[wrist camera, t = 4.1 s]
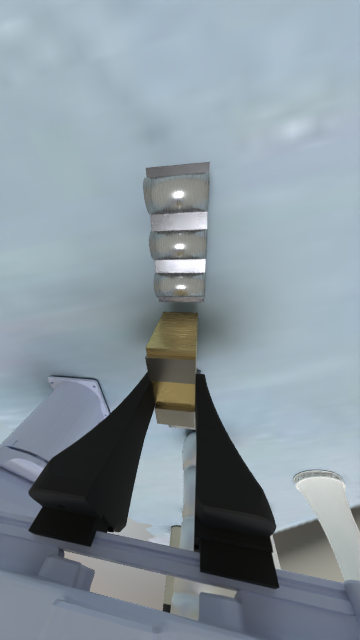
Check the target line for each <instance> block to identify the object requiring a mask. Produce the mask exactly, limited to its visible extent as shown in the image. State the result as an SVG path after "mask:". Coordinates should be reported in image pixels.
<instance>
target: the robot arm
mask: <svg viewBox="0 0 360 640" xmlns="http://www.w3.org/2000/svg"><path fill="white" fill-rule="evenodd" d="M48 381H49V383H50V385H51V386H52V388H53V390H54V391H53V392H52V393H51V394H50V395H49V396H48V397H47V398H46V399H45V400H44V401H43V402H42V403H41V404H40V405H39V406H38V407H37V408H36V409H35V410H34V411H33V412H32V413H31V414H30V415H29V416H28V417H27V418H26V419H25V420H24V421H23V422H22V423H21V424H20V425H19V426H18V427H17V428H16V429H15V430H14V431H13V432H12V434H11V435H10V436H9V437H8V438H7V439H5V441H3V443H2V444H1V445H0V640H360V581H357V580H347V581H345V582H344V583H340V582H335V581H331V580H326V579H321V578H317V577H312V576H307V575H303V574H298V573H293V572H288V571H284V570H279V569H275V565H274V560H273V556H272V553H273V547H272V543H271V539H270V536H271V535H272V534H273V533H274V531H275V529H276V524H275V520H274V517H273V514H272V511H271V508H270V505H269V503H268V501H267V498H266V496H265V494H264V491H263V489H262V488H261V486H260V485H259V483H258V482H257V481H256V479H255V478H254V476H253V475H252V473H251V472H250V470H249V469H248V467H247V466H246V464H245V462H244V461H243V459H242V458H241V456H240V455H239V453H238V451H237V449H236V448H235V446H234V444H233V443H232V441H231V439H230V437H229V436H228V434H227V432H226V430H225V428H224V426H223V424H222V422H221V420H220V418H219V416H218V414H217V411H216V409H215V407H214V404H213V402H212V399H211V396H210V393H209V390H208V387H207V383H206V379H205V375H204V374H196V380H195V424H196V480H195V518H194V551H190V550H185V549H180V548H175V547H171V546H166V545H161V544H157V543H152V542H147V541H142V540H137V539H133V538H128V537H123V536H119V535H114V534H110V533H107V531H108V532H114V531H115V532H120V531H121V530H122V529H123V528H124V527H125V526H126V523H127V517H128V512H129V507H130V502H131V497H132V492H133V487H134V482H135V478H136V473H137V468H138V464H139V460H140V455H141V451H142V447H143V443H144V439H145V435H146V432H147V429H148V426H149V423H150V420H151V417H152V414H153V411H154V407H155V398H154V392H153V386H152V381H150V380H149V375H148V372H147V373H146V374H145V376H144V377H143V378H142V380H141V381H140V382H139V383H138V385H137V386H136V387H135V388H134V389H133V390H132V392H131V393H130V394H129V395H128V396H127V397H126V398H125V399H124V400H123V401H122V403H121V404H120V405H119V406H118V407H117V408H116V409H115V410H114V411H112V412H111V413H109V411H108V408H107V405H106V403H105V400H104V398H103V395H102V392H101V390H100V387H99V385H98V382H97V381H96V380H90V379H78V378H65V377H53V376H50V377H49V378H48ZM64 551H68V552H72V553H76V554H80V555H84V556H88V557H93V558H97V559H101V560H105V561H110V562H114V563H118V564H123V565H127V566H131V567H135V568H140V569H144V570H148V571H152V572H156V573H160V574H165V575H169V576H173V577H177V578H182V579H186V580H190V581H194V582H199V583H203V584H207V585H211V586H215V587H220V588H224V589H228V590H232V591H237V593H236V594H235V597H234V598H231V597H228V596H223V595H217V594H211V593H205V592H201V593H200V594H199V620H198V621H197V620H193V619H189V618H186V617H182V616H178V615H175V614H171V613H167V612H164V611H160V610H156V609H153V608H149V607H145V606H141V605H138V604H134V603H130V602H126V601H122V600H119V599H115V598H112V597H108V596H104V595H100V594H96V593H93V592H90V586H91V583H92V580H93V577H94V574H95V572H94V570H93V569H90V568H87V567H85V566H83V565H82V564H81V563H79V562H76V561H73V560H69V559H66V558H64Z"/></svg>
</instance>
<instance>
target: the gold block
mask: <svg viewBox="0 0 360 640" xmlns="http://www.w3.org/2000/svg"><path fill="white" fill-rule="evenodd" d="M197 327H198V313H184V312H163V314H162V316H161V318H160V320H159V322H158V324H157V326H156V328H155V330H154V332H153V334H152V336H151V338H150V340H149V342H148V344H147V346H146V352H147V355H146V357H145V358H146V364H147V369H148V375H149V380H150V381H152V386H153V392H154V398H155V404H156V405H155V413H156V419H157V423H159V424H167V425H176V426H185V427H193V428H194V425H195V380H196V368H197Z"/></svg>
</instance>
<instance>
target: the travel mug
mask: <svg viewBox="0 0 360 640" xmlns="http://www.w3.org/2000/svg"><path fill="white" fill-rule="evenodd" d="M180 536H181V526H174V527H172V528H171V537H170V546H171V547H175V548H179V546H180ZM174 580H175V577H173V576H169V575H167V576H166V585H165V595H164V605H163V611H164V612H167V613H170V611H171V601H172V596H173V592H174V590H173V587H174Z"/></svg>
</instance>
